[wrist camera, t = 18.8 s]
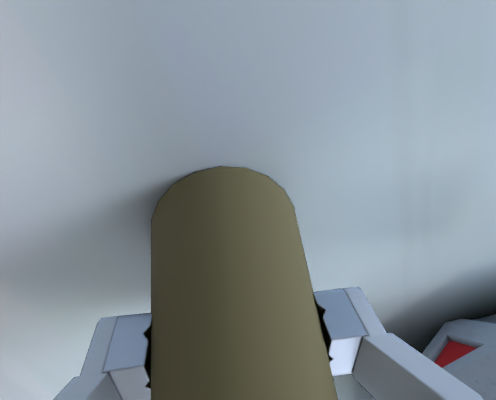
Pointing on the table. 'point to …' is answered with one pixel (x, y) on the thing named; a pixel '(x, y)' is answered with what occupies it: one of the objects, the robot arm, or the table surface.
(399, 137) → the table surface
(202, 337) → the cork
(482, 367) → the first aid kit
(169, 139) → the table surface
